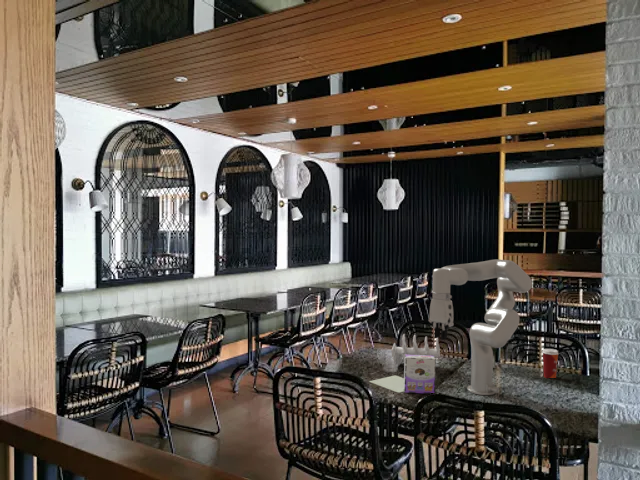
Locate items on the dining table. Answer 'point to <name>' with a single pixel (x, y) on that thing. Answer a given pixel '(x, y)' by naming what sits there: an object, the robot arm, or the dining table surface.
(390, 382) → the mat
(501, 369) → the dining table surface
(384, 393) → the dining table surface
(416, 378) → the candy box
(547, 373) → the paper cup
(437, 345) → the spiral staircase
